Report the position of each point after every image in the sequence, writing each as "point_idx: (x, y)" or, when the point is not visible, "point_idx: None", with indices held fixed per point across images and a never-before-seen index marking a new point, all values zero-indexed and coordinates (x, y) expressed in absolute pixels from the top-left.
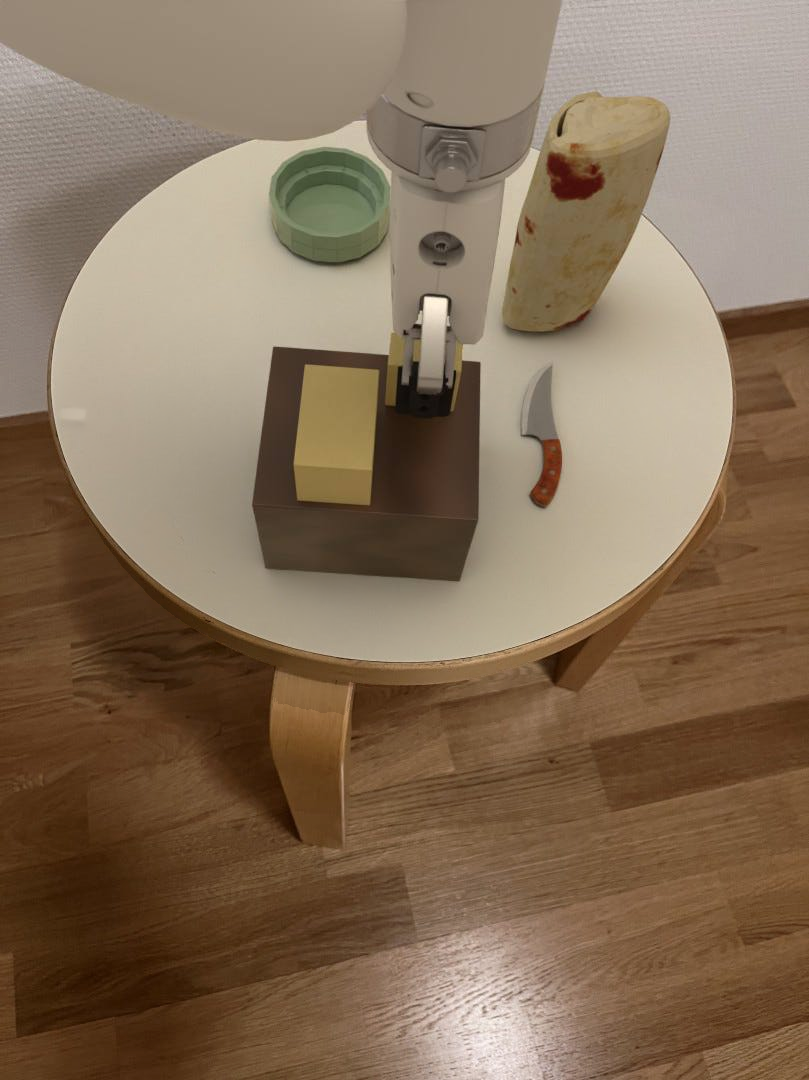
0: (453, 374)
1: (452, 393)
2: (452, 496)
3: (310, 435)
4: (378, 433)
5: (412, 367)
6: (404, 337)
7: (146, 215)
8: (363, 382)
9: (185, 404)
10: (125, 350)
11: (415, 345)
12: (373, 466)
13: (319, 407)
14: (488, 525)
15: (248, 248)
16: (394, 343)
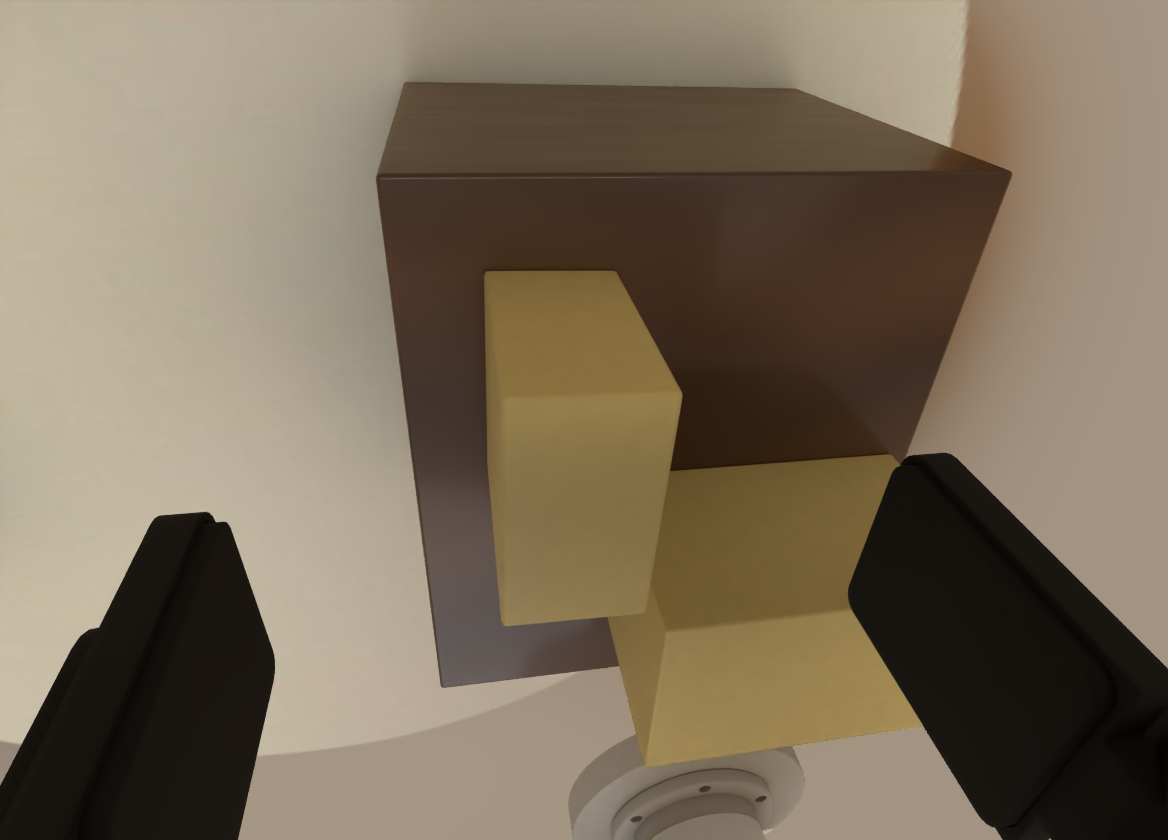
0: (1160, 698)
1: (1066, 572)
2: (916, 256)
3: (869, 718)
4: (689, 462)
5: (1034, 814)
6: (523, 591)
7: (24, 734)
8: (715, 656)
9: (425, 602)
10: (339, 686)
11: (557, 556)
12: (784, 459)
13: (786, 718)
14: (658, 7)
15: (6, 594)
16: (552, 611)
